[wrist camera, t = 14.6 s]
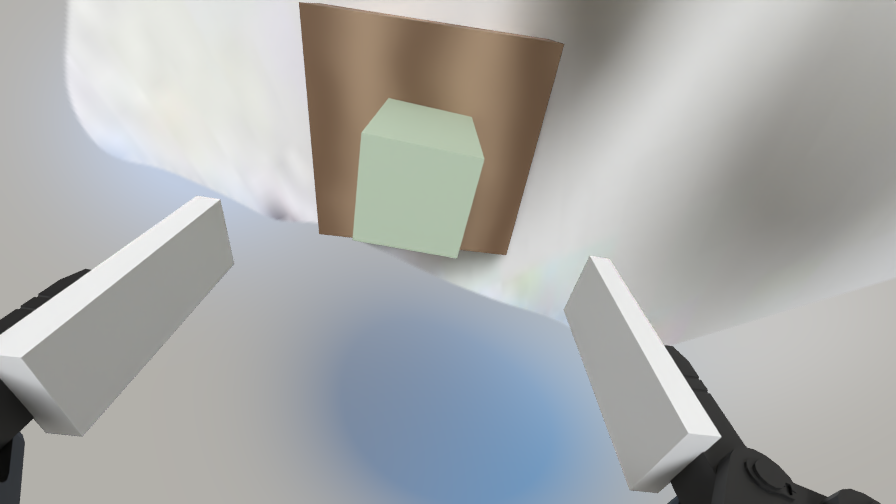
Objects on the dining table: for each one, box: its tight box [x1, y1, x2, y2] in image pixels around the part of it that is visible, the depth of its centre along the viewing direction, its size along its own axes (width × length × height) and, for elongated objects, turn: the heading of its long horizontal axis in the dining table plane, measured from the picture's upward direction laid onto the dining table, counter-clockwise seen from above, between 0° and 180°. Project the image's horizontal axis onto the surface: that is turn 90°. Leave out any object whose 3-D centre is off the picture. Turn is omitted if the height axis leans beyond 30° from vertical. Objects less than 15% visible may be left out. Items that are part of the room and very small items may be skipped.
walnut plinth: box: [299, 2, 564, 255], centre depth 24 cm, size 14×14×4 cm
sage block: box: [353, 98, 484, 259], centre depth 19 cm, size 5×5×8 cm
